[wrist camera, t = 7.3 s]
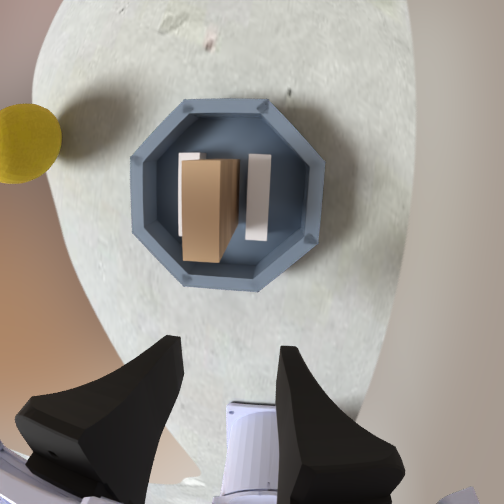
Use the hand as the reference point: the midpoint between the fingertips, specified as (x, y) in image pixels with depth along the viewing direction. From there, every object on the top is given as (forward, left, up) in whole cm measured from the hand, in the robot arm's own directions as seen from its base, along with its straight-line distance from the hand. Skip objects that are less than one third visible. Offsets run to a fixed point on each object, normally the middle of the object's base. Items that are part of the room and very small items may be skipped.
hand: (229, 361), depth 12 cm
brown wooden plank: (+6, +1, -8) cm, 10 cm away
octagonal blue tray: (+6, +1, -9) cm, 11 cm away
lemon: (+10, +15, -9) cm, 20 cm away
